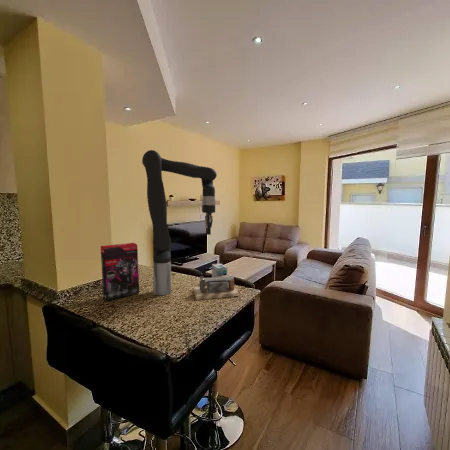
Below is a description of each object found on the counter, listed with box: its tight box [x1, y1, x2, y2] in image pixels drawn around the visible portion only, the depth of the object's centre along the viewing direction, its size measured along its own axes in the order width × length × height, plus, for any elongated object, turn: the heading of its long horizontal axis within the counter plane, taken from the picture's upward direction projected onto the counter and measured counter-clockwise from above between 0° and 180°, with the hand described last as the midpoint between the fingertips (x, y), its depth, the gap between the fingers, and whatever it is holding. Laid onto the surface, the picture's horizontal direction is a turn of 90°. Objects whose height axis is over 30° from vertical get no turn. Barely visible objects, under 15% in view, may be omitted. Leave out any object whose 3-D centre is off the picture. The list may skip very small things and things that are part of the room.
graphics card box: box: [100, 242, 140, 302], centre depth 130 cm, size 17×7×27 cm, turn 132°
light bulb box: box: [211, 263, 228, 282], centre depth 154 cm, size 11×7×11 cm, turn 22°
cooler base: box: [193, 275, 239, 301], centre depth 136 cm, size 22×14×9 cm, turn 103°
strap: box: [199, 274, 235, 282], centre depth 136 cm, size 18×4×2 cm, turn 103°
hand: (208, 234), depth 144 cm, fingers closed
